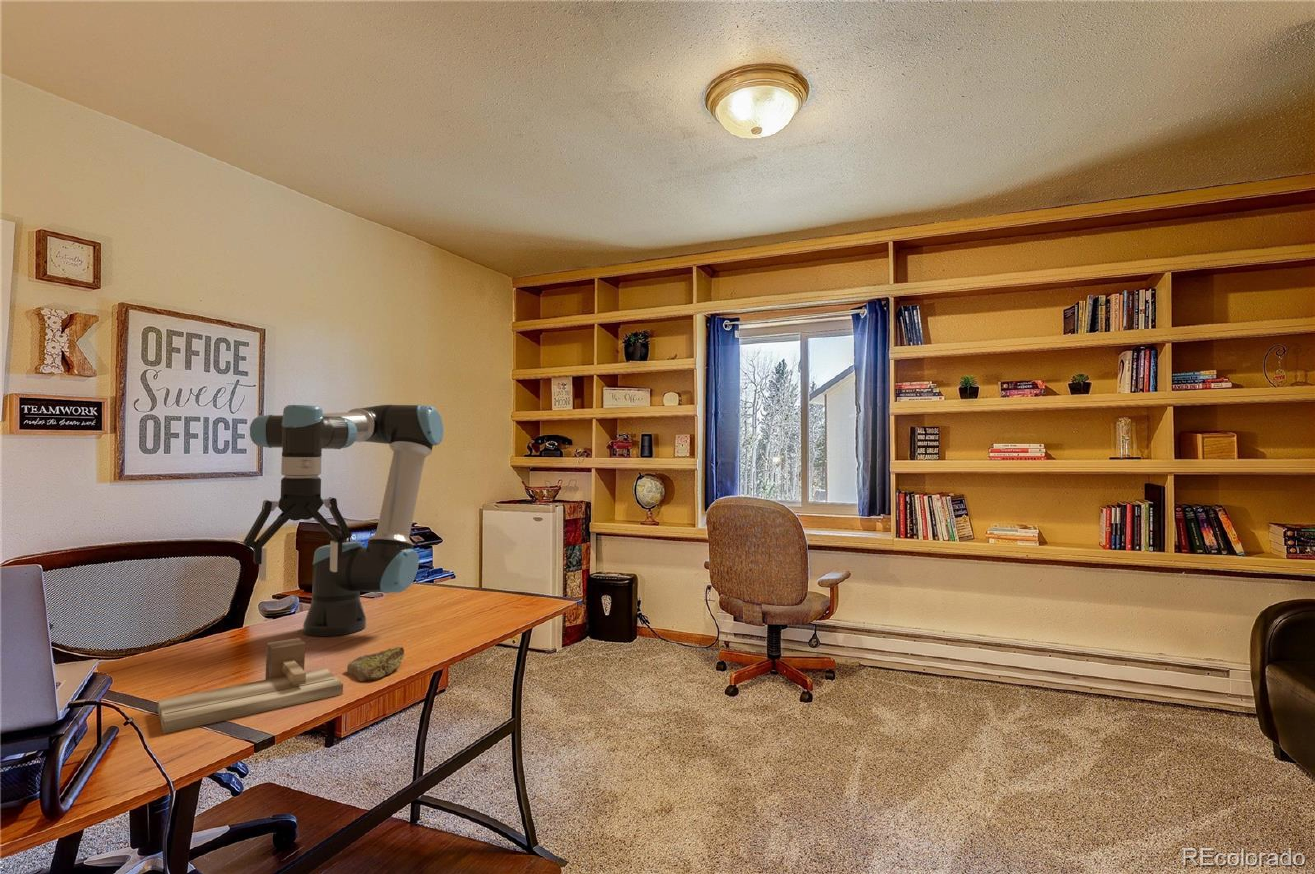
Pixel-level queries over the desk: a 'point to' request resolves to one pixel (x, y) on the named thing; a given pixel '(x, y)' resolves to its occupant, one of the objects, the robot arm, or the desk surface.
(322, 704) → the desk surface
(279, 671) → the brown blocky t-shaped piece
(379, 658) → the rock
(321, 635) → the robot arm
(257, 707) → the board
